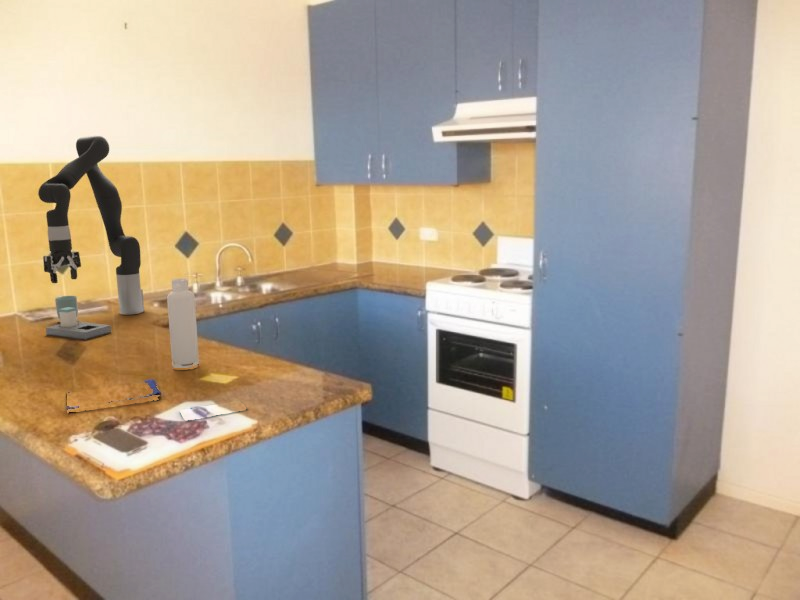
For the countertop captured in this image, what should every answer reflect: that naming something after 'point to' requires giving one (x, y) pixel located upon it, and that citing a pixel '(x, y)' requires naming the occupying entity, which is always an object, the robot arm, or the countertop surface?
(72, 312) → the plug
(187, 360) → the bottle
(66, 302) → the cup
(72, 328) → the panel
